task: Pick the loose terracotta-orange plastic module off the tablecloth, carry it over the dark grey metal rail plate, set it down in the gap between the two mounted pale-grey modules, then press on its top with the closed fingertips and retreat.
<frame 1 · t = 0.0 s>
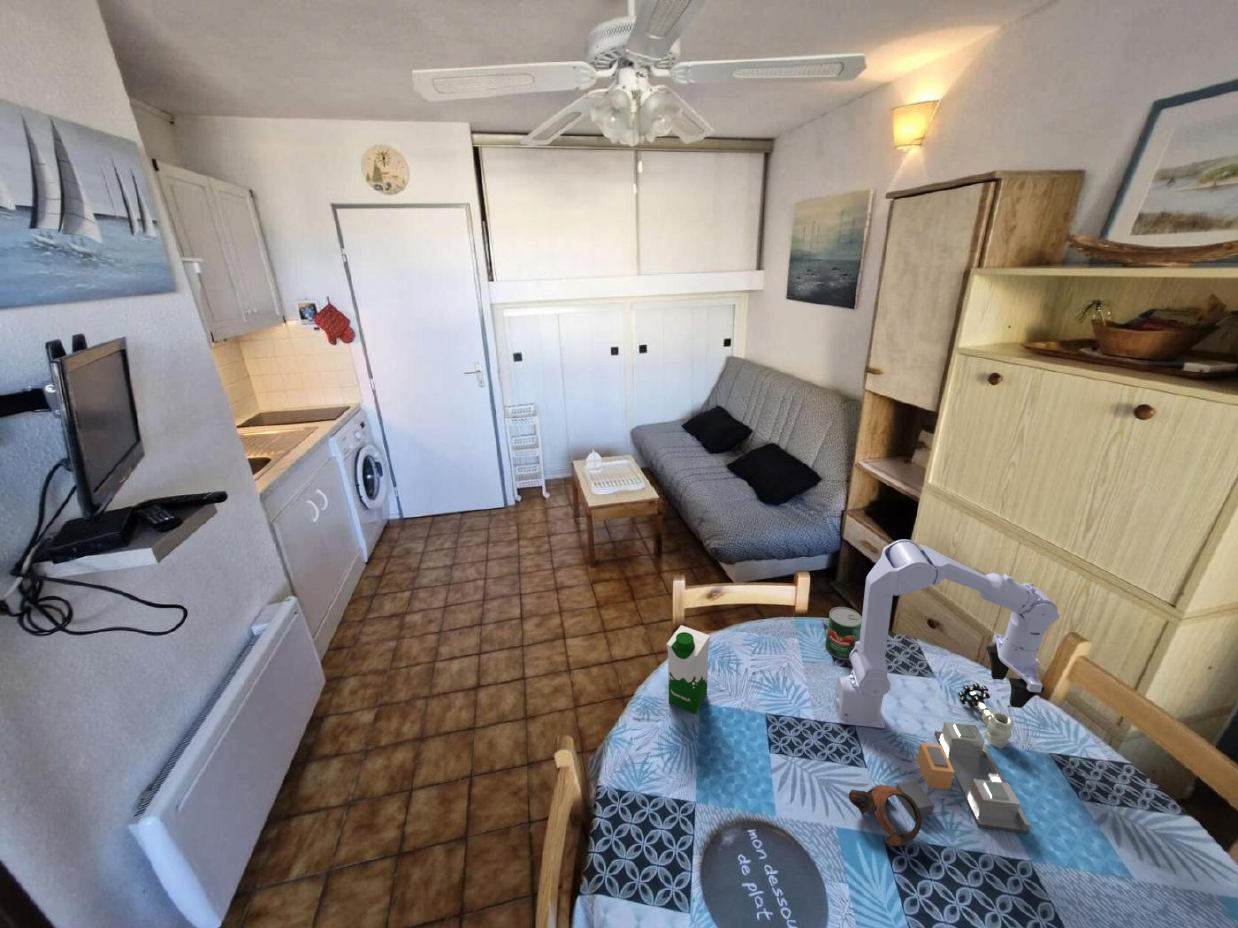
hand: (1006, 691, 109), 10 cm above the table, fingers open, 7 cm apart
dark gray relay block: (912, 804, 97), on the table
orange module: (932, 774, 103), on the table
valve: (984, 726, 113), on the table
rail plate: (976, 779, 101), on the table
milk carton: (688, 698, 123), on the table
canned tomato: (840, 649, 136), on the table
knobbed brown ring: (880, 820, 95), on the table
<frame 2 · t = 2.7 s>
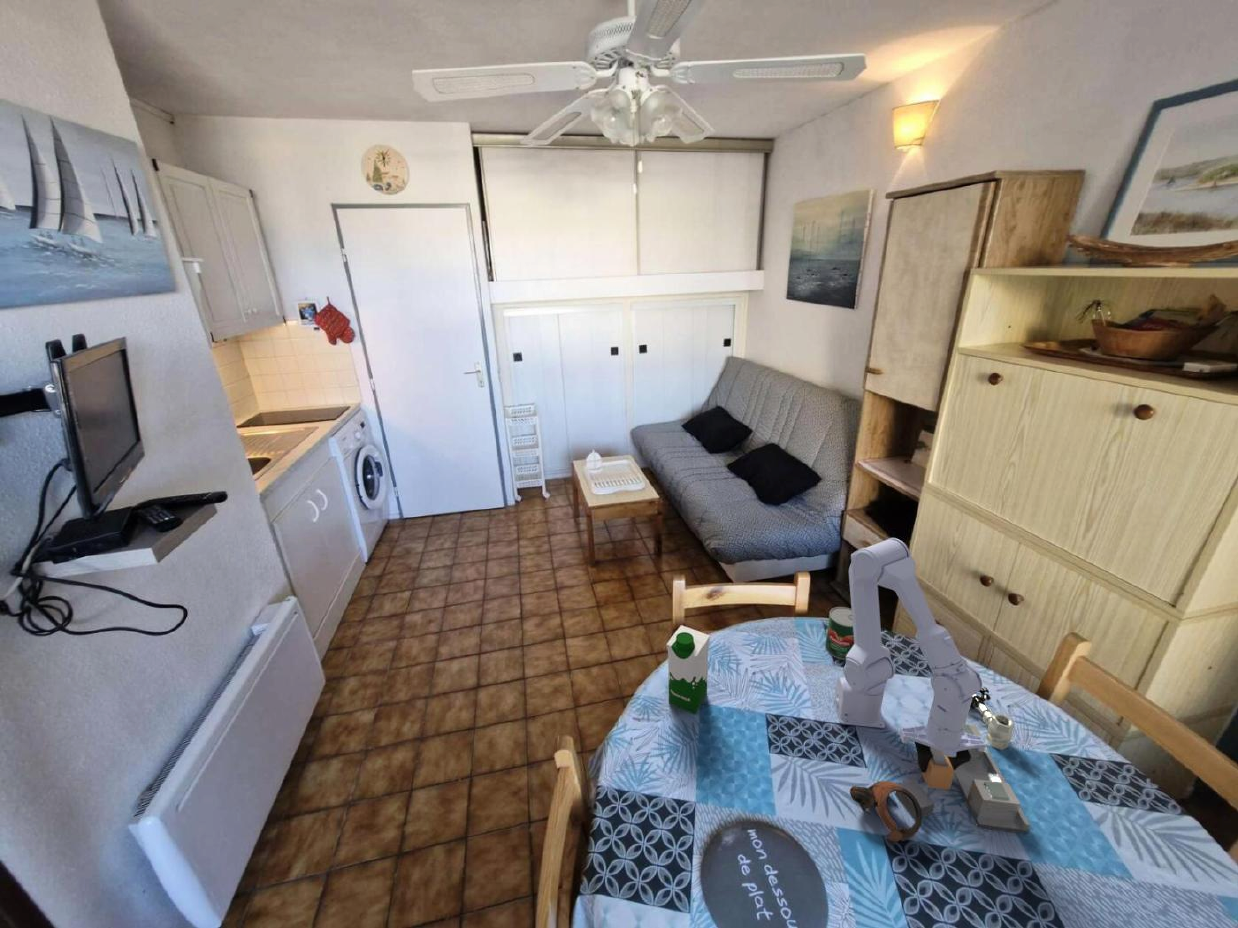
hand: (933, 769, 102), 1 cm above the table, fingers closed on orange module, 4 cm apart
orange module: (932, 774, 103), on the table, touching gripper
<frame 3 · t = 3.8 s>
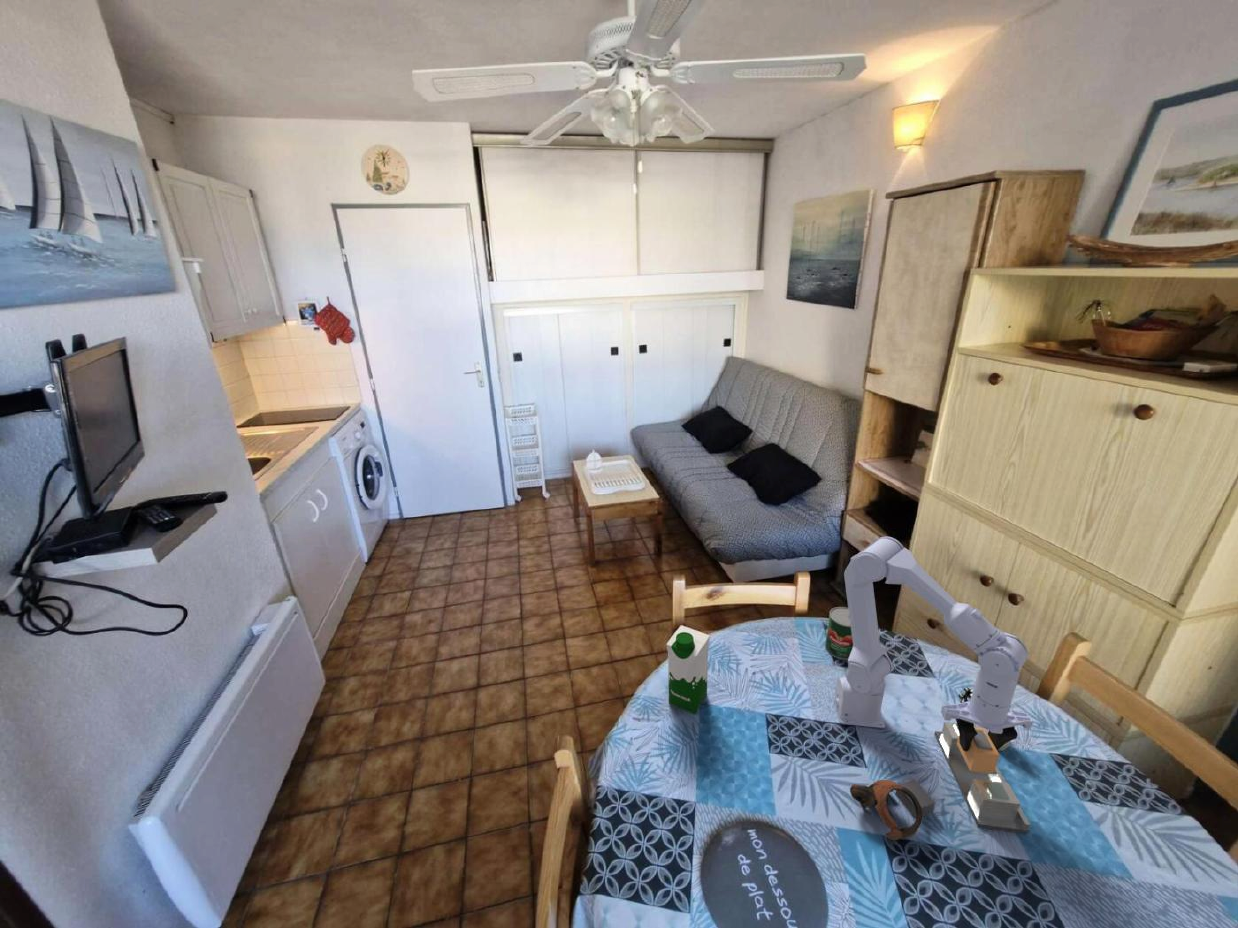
hand: (976, 748, 98), 9 cm above the table, fingers closed on orange module, 4 cm apart
orange module: (974, 758, 99), point 6 cm above the table, touching gripper
when the fingers open (4 cm above the table, at t = 5.2 s): orange module stays where it is, resting on rail plate.
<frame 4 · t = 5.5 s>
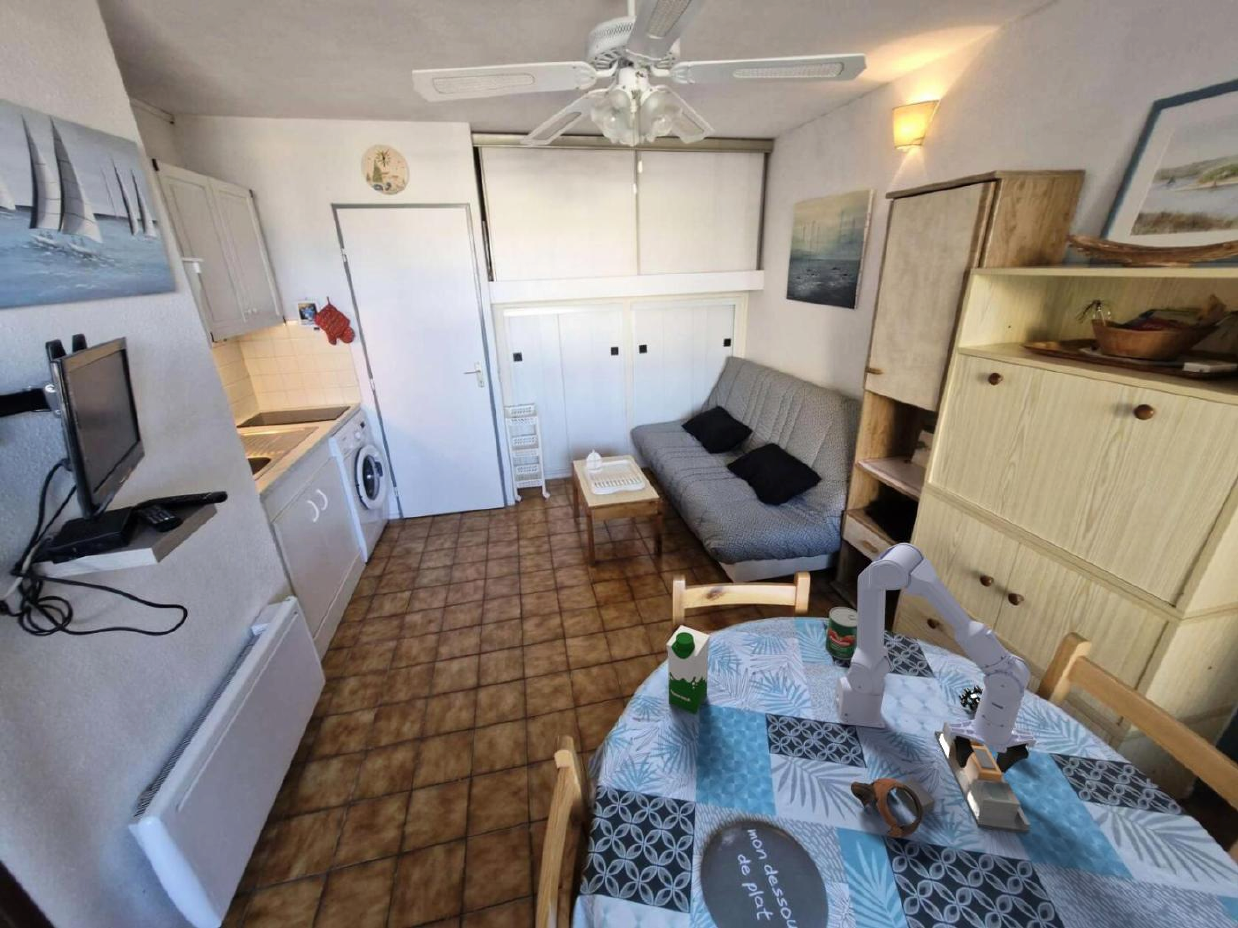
hand: (980, 765, 100), 4 cm above the table, fingers open, 7 cm apart
orange module: (977, 776, 101), point 1 cm above the table, touching rail plate
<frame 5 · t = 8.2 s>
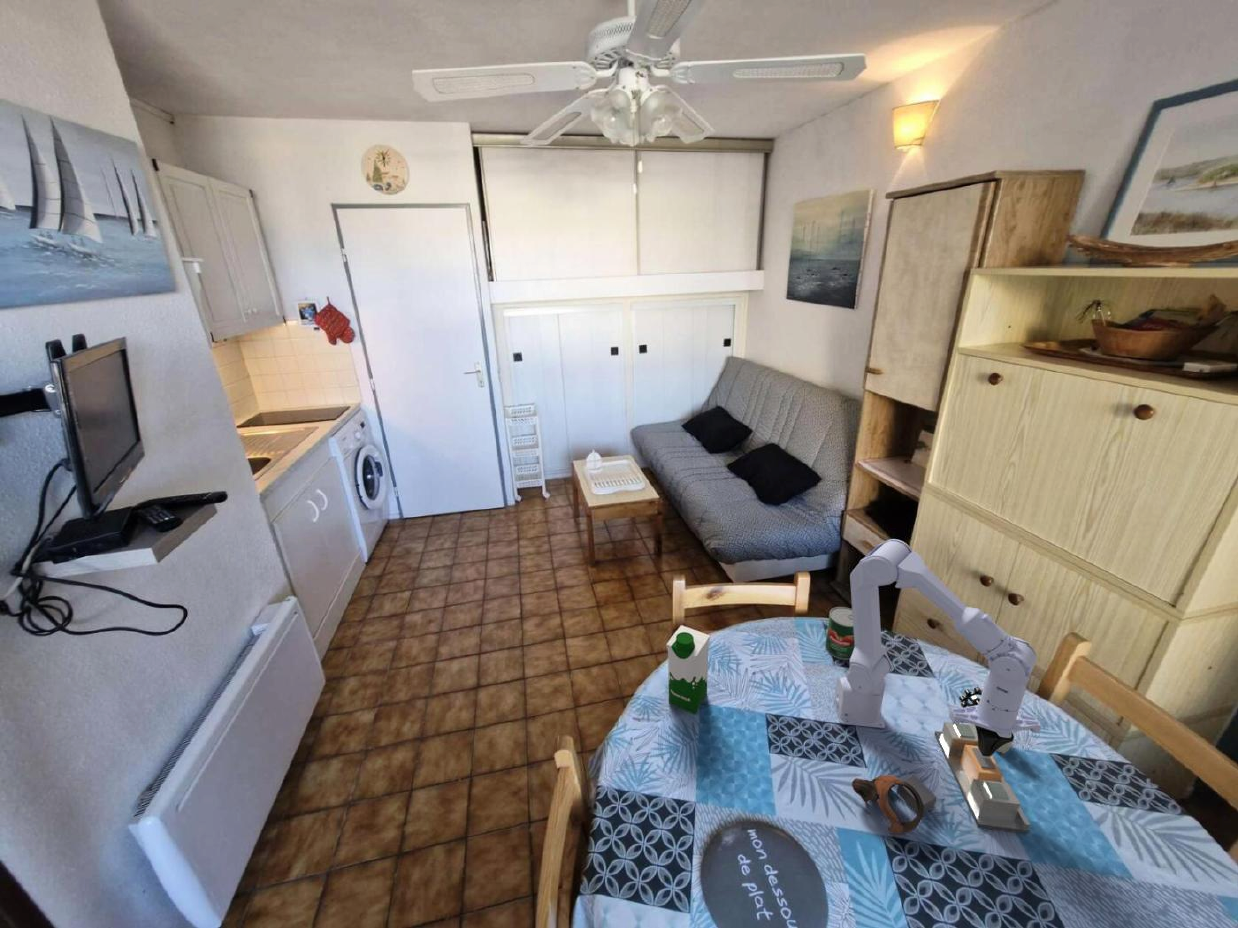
hand: (984, 751, 98), 8 cm above the table, fingers closed
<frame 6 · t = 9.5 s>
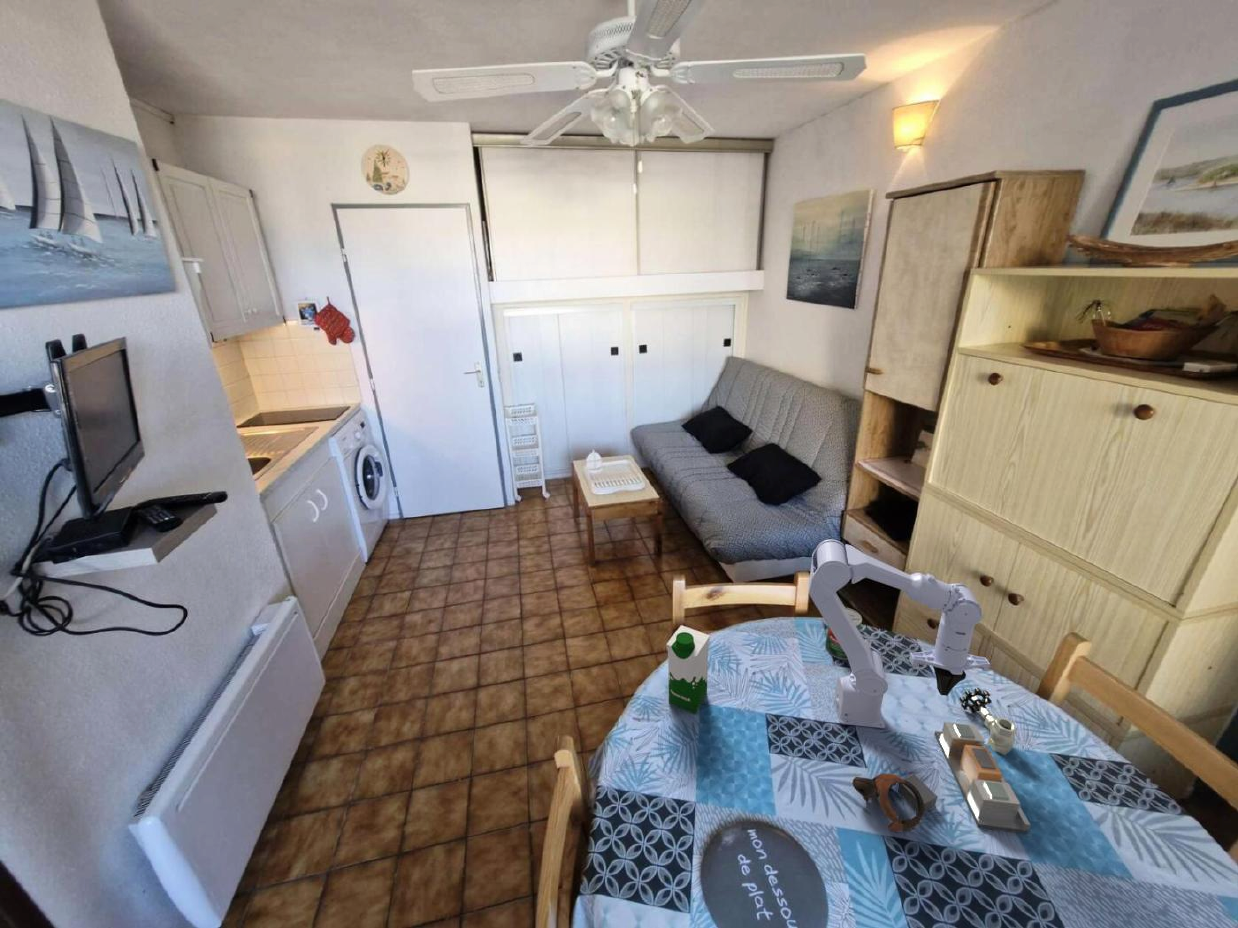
hand: (942, 691, 109), 10 cm above the table, fingers closed
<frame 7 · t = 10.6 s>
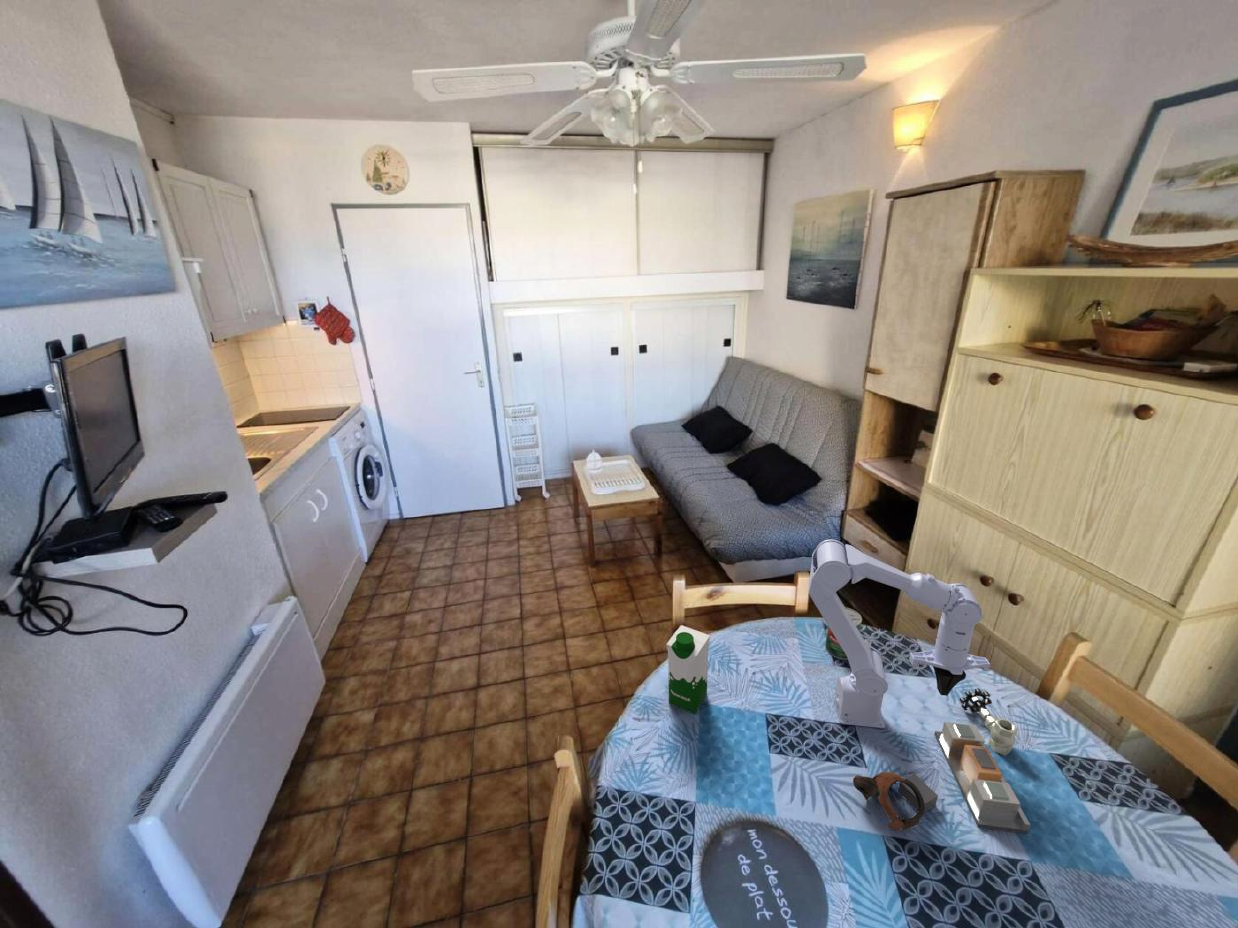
hand: (942, 691, 109), 10 cm above the table, fingers closed
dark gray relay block: (916, 798, 98), on the table, touching knobbed brown ring
knobbed brown ring: (883, 806, 97), on the table, touching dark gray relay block
at the end: orange module 0.3 cm off-centre on the rail plate, point 1.0 cm above the rail plate's base; orange module tilted 0°; the gripper is holding nothing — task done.
